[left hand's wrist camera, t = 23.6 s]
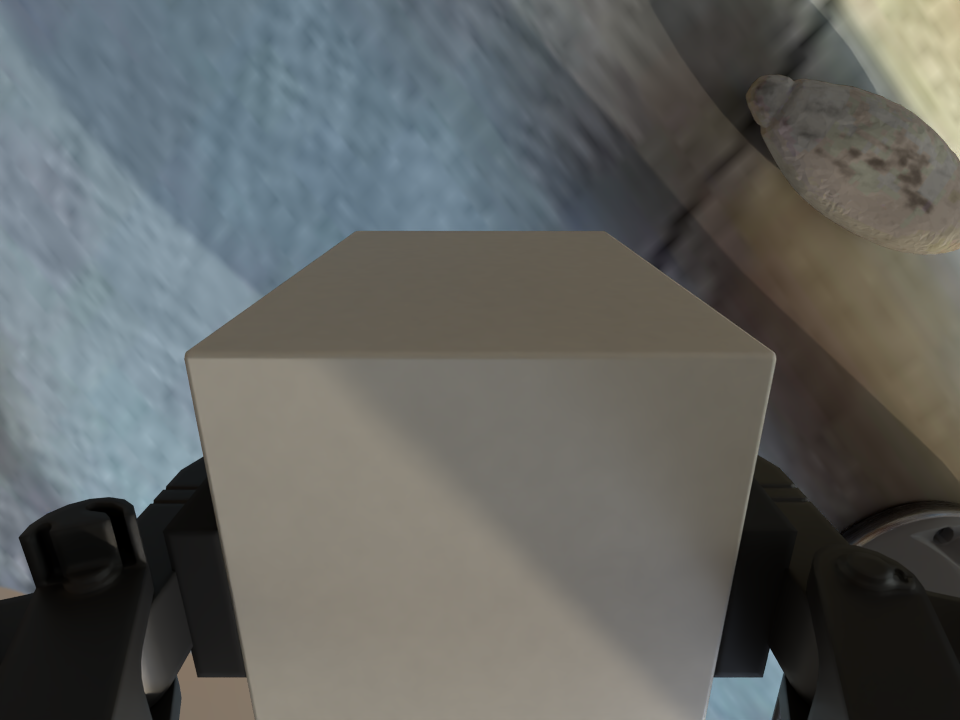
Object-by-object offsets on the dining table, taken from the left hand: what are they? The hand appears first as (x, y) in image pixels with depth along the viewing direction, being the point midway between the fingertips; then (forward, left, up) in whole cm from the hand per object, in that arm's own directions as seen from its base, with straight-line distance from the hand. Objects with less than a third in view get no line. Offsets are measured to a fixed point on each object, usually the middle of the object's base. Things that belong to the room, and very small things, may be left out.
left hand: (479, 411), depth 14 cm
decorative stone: (-21, -7, -22) cm, 31 cm away
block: (0, 0, -4) cm, 4 cm away
